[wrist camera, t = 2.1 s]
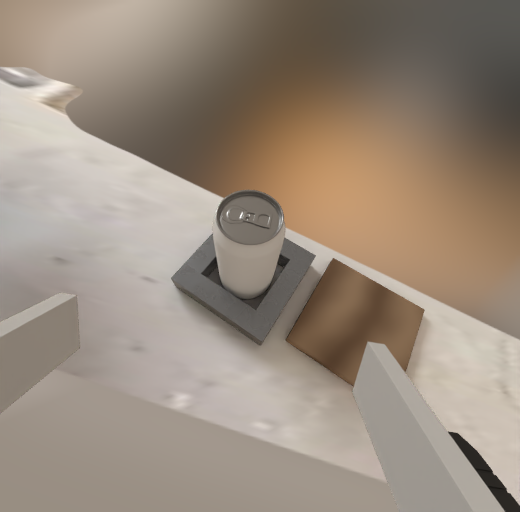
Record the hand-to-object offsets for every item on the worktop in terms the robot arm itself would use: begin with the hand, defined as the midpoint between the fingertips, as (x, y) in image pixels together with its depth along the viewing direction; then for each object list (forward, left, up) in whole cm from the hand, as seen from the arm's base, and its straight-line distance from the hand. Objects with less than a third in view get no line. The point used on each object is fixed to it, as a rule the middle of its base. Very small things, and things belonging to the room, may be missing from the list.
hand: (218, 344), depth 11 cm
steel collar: (-5, +10, -16) cm, 20 cm away
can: (-5, +10, -16) cm, 20 cm away
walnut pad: (+9, +12, -16) cm, 22 cm away
